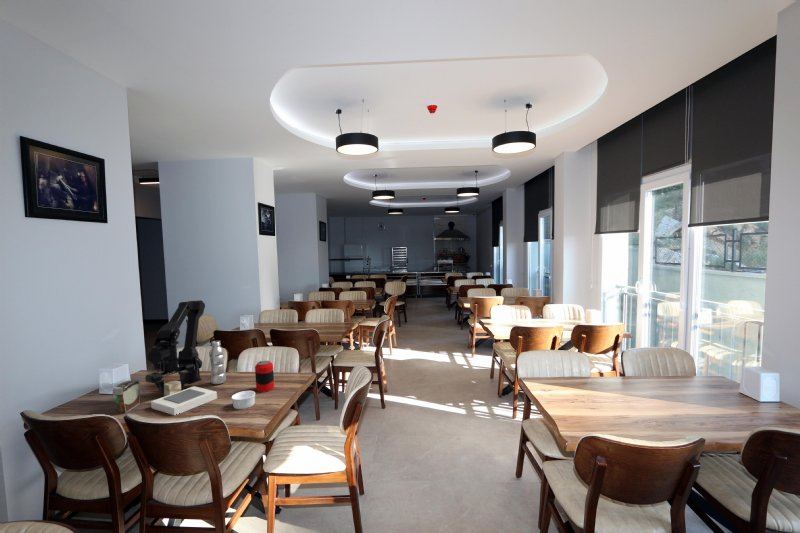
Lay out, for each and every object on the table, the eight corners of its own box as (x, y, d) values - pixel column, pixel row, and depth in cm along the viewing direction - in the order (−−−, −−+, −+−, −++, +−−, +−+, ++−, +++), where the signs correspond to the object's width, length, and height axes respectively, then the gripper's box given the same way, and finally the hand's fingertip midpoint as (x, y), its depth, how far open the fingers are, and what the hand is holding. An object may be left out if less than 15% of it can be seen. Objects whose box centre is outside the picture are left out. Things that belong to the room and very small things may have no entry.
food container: (126, 403, 161) (124, 379, 161) (141, 402, 162) (140, 378, 161) (106, 416, 149) (104, 390, 149) (123, 414, 150) (121, 389, 149)
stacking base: (194, 392, 171) (193, 385, 170) (217, 398, 163) (216, 390, 163) (151, 408, 155) (151, 400, 155) (174, 415, 147) (174, 407, 147)
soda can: (262, 385, 176) (260, 359, 175) (277, 386, 174) (276, 360, 173) (252, 392, 168) (251, 365, 168) (268, 392, 167) (266, 365, 166)
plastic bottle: (207, 385, 179) (204, 342, 178) (219, 380, 185) (216, 339, 184) (217, 386, 177) (215, 343, 176) (229, 381, 183) (226, 340, 182)
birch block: (174, 391, 174) (174, 380, 173) (181, 392, 171) (180, 381, 171) (163, 395, 169) (162, 383, 169) (170, 396, 167) (169, 385, 167)
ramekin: (255, 408, 151) (254, 397, 151) (230, 411, 149) (230, 400, 149) (256, 399, 160) (256, 389, 160) (233, 402, 157) (233, 392, 157)
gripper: (179, 349, 181) (182, 381, 182) (136, 360, 165) (139, 396, 166) (194, 351, 176) (196, 385, 177) (151, 363, 160) (154, 400, 161)
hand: (172, 391), depth 170 cm, fingers open, 8 cm apart
